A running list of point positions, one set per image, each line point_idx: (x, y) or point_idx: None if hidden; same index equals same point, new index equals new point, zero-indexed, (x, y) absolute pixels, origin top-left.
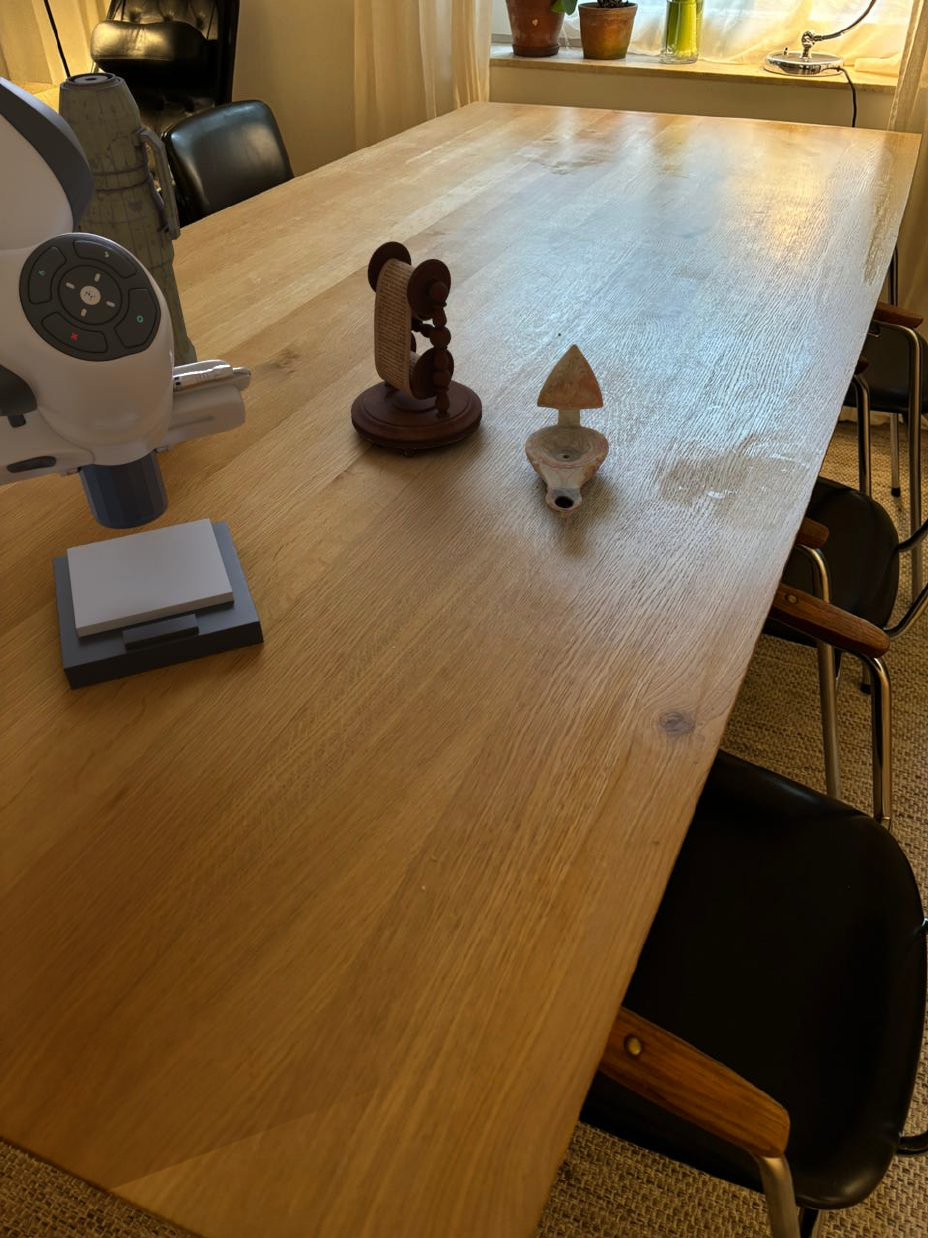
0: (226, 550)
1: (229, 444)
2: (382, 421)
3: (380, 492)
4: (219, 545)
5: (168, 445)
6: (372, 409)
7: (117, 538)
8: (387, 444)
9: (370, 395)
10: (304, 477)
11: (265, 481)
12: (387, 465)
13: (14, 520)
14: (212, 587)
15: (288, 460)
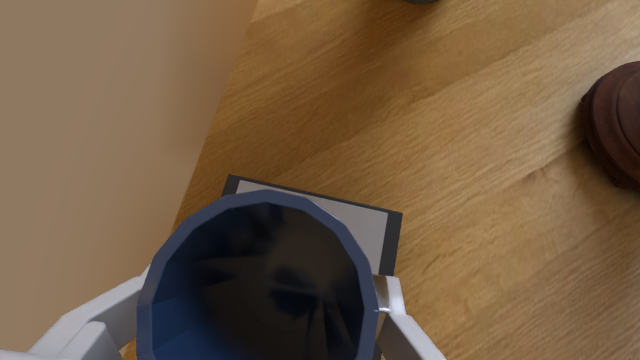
0: (384, 268)
1: (449, 62)
2: (629, 143)
3: (563, 226)
4: (381, 253)
5: (381, 351)
6: (626, 114)
7: (290, 193)
8: (609, 168)
9: (632, 87)
10: (498, 155)
11: (460, 140)
12: (586, 184)
13: (234, 71)
14: None
15: (493, 119)
